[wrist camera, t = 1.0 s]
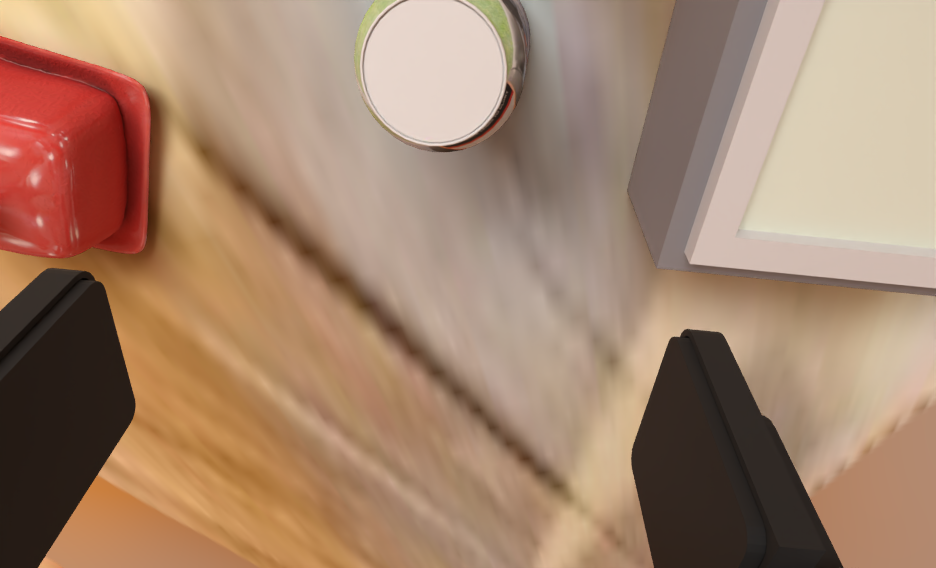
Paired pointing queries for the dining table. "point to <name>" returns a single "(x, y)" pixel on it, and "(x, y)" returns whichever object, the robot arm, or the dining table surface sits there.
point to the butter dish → (71, 155)
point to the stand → (794, 143)
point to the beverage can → (442, 68)
